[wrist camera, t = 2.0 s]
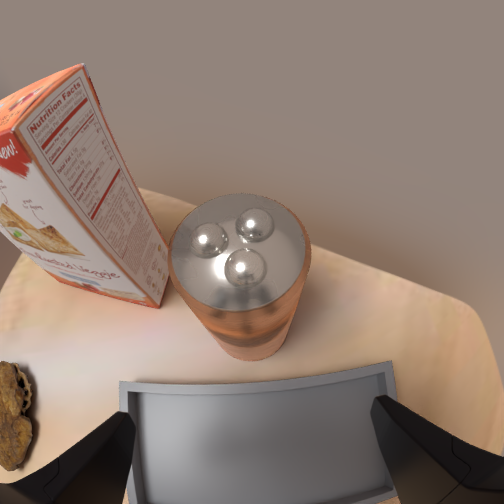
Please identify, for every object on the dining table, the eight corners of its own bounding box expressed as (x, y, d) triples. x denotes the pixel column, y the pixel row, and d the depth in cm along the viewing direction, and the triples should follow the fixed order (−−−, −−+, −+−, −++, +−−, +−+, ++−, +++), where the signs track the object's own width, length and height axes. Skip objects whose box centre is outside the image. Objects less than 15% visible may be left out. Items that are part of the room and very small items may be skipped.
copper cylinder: (303, 326, 23) (346, 237, 11) (248, 376, 21) (225, 347, 9) (253, 278, 26) (243, 160, 13) (199, 322, 24) (134, 233, 11)
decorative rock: (9, 341, 22) (-14, 424, 16) (-14, 331, 19) (-34, 420, 12) (53, 394, 19) (29, 482, 13) (25, 388, 16) (6, 484, 9)
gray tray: (389, 487, 14) (401, 493, 12) (142, 505, 14) (131, 513, 12) (379, 364, 21) (391, 360, 19) (132, 383, 21) (119, 380, 18)
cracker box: (59, 286, 26) (-63, 163, 8) (78, 242, 29) (-18, 109, 10) (160, 314, 24) (4, 126, 6) (177, 258, 27) (88, 54, 9)
